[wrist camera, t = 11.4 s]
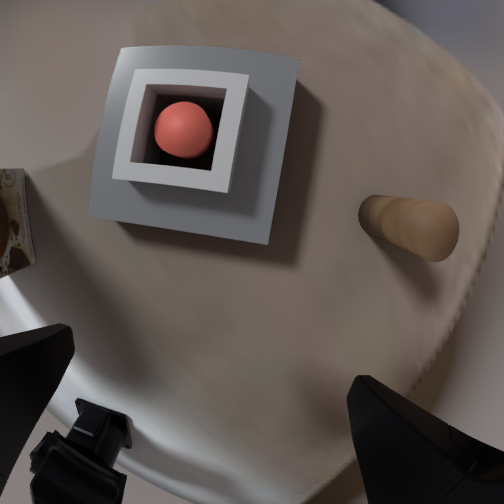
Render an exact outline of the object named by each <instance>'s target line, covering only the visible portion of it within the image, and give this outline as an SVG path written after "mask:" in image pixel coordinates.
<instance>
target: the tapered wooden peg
mask: <svg viewBox="0 0 504 504" xmlns="http://www.w3.org/2000/svg"><path fill="white" fill-rule="evenodd" d="M358 217H359V222H360V225H361V227H362V228H363V229H364V230H365V231H366V232H367V233H369V234H372V235H374V236H376V237H379V238H381V239H383V240H385V241H388V242H390V243H392V244H395V245H397V246H399V247H401V248H403V249H406V250H408V251H410V252H412V253H414V254H417V255H419V256H421V257H423V258H425V259H427V260H429V261H432V262H439V261H442V260H444V259H446V258H447V257H448V256H449V255H450V254H451V253H452V252H453V250H454V248H455V246H456V244H457V241H458V237H459V222H458V218H457V216H456V214H455V212H454V210H453V209H452V208H451V207H450V206H449V205H447V204H444V203H439V202H432V201H424V200H417V199H409V198H400V197H391V196H381V195H372V196H370V197H368V198H366V199H365V200H364V201H363V202H362V204H361V206H360V208H359V213H358Z"/></svg>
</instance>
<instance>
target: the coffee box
mask: <svg viewBox="0 0 504 504" xmlns="http://www.w3.org/2000/svg"><path fill="white" fill-rule="evenodd" d="M35 262H36V260H35V255H34V250H33V245H32V240H31V234H30V227H29V220H28V212H27V203H26V192H25V175H24V169H22V168H21V169H20V168H19V169H17V168H15V169H0V278H2V277H5V276H7V275H9V274H11V273H14V272H16V271H18V270H20V269H23V268H25V267H27V266H30V265H33V264H35Z"/></svg>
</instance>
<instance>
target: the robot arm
mask: <svg viewBox="0 0 504 504" xmlns="http://www.w3.org/2000/svg"><path fill="white" fill-rule="evenodd" d="M74 352H75V346H74V340H73V333H72V329H71V327H70V326H67V325H64V324H61V323H59V324H55V325H50V326H46V327H42V328H38V329H34V330H29V331H25V332H21V333H16V334H12V335H8V336H3V337H0V496H1V494H2V492H3V490H4V487H5V485H6V483H7V480H8V478H9V475H10V474H11V471H12V469H13V467H14V465H15V463H16V461H17V459H18V457H19V455H20V453H21V451H22V449H23V447H24V445H25V444H26V441H27V440H28V438H29V436H30V434H31V432H32V430H33V429H34V427H35V425H36V423H37V422H38V420H39V418H40V416H41V415H42V413H43V411H44V410H45V408H46V406H47V405H48V403H49V401H50V400H51V398H52V396H53V395H54V393H55V391H56V389H57V388H58V386H59V384H60V382H61V380H62V378H63V375H64V373H65V371H66V369H67V367H68V365H69V363H70V361H71V359H72V357H73V355H74ZM75 404H76V407H77V411H78V414H79V417H78V418H77V420H76V421H75V423H74V424H73V427H72V429H71V430H70V432H69V433H68V435H67V437H66V438H65V437H63V436H62V435H60V434H59V432H58V431H56V430H55V431H54V432H53V433H51V432H47V433H46V435H45V436H44V437H43V439H42V440H41V442H40V443H39V444H38V445H37V446H36V447H35V448H34V450H33V451H32V452H31V453H30V459H31V461H32V462H31V465H32V466H31V468H30V472H32V473H33V474H35V476H34V477H33V479H32V481H31V483H30V495H31V501H32V504H121V503H122V499H123V494H124V488H125V483H126V479H127V475H125V474H123V473H120V472H118V471H116V470H114V469H113V466H114V463H115V461H116V459H117V456H118V454H119V451H120V449H121V447H124V448H127V449H131V448H132V442H131V437H130V432H129V426H128V421H127V417H126V416H125V415H124V414H121V413H118V412H115V411H112V410H109V409H106V408H103V407H100V406H97V405H95V404H92V403H89V402H87V401H84V400H82V399H79V398H77V399H76V400H75ZM347 407H348V413H349V420H350V427H351V434H352V439H353V444H354V448H355V452H356V455H357V459H358V463H359V467H360V471H361V475H362V479H363V483H364V487H365V492H366V496H367V500H368V504H504V451H501V450H499V449H497V448H494V447H492V446H490V445H488V444H485V443H483V442H481V441H479V440H477V439H475V438H473V437H470V436H468V435H466V434H465V433H463V432H461V431H459V430H458V429H456V428H454V427H452V426H451V425H448V424H447V423H446V422H444V421H442V420H440V419H439V418H437V417H435V416H434V415H432V414H430V413H429V412H427V411H425V410H424V409H422V408H421V407H419V406H417V405H416V404H414V403H412V402H411V401H409V400H408V399H406V398H404V397H403V396H401V395H400V394H398V393H396V392H395V391H393V390H392V389H390V388H388V387H387V386H385V385H384V384H382V383H381V382H379V381H378V380H376V379H374V378H373V377H371V376H370V375H358V376H356V377H355V379H354V381H353V384H352V386H351V388H350V390H349V392H348V395H347Z"/></svg>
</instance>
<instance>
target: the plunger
mask: <svg viewBox="0 0 504 504" xmlns="http://www.w3.org/2000/svg"><path fill="white" fill-rule="evenodd" d="M154 135H155V139H156V142H157V143H158V145H159V146H160V147H161V148H162V149H163V150H164V151H166V152H167V153H170V154H172V155H175V156H177V157H180V158H182V159H186V160H194V159H198V158H200V157H202V156H204V155H205V154H207V153H208V152H209V151H210V149H211V148H212V146H213V144H214V141H215V130H214V127H213V125H212V123H211V121H210V120H209V118H208V116H207V115H206V113H205V111H204V110H203V109H202V108H201V107H200V106H198V105H196V104H194V103H191V102H178V103H174V104H172V105H170V106H168V107H167V108H166V109H164V110H163V111H162V112H161V114H160V115H159V116H158V118H157V120H156V123H155V127H154Z"/></svg>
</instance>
